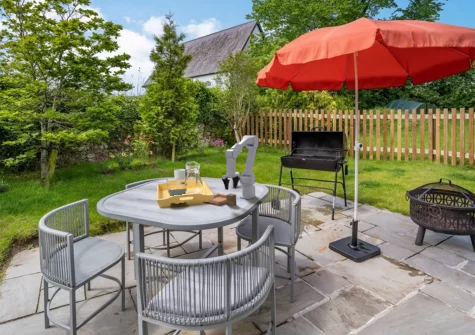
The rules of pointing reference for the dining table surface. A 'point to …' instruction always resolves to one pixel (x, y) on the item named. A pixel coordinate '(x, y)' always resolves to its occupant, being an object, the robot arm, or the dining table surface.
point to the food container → (177, 192)
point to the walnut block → (231, 199)
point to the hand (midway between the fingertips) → (230, 188)
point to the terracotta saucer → (219, 199)
